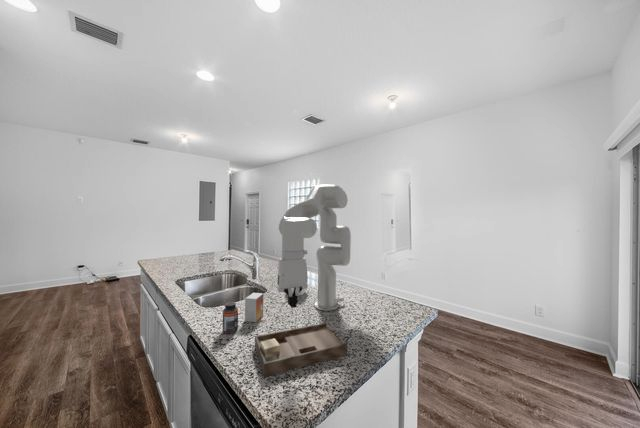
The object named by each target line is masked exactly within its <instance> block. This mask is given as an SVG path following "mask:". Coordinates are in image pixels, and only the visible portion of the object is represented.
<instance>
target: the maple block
mask: <svg viewBox="0 0 640 428" xmlns="http://www.w3.org/2000/svg"><path fill="white" fill-rule="evenodd" d="M261 349H262V351H263V354H264V357H265V358H268V357H272V356H275V355H278V354H280V345H279V343H278V342H277V341H276V339H275V338H274V339H270V340H266V341H262V342H261Z"/></svg>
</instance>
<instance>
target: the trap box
mask: <svg viewBox="0 0 640 428" xmlns="http://www.w3.org/2000/svg"><path fill="white" fill-rule="evenodd" d="M327 325H328V324H327V322H323V323H316V324H311V325H306V326H302V327H297V328H290V329H285V330H282V331H274V332H271V333H264V334H261V335H260V334H259V335H256V336H254V348H255V353H256V355H257V359H258V361H259V364H260V367H261V371H262V374H263V377H264V378H267V377H270V376H273V375H278V374H281V372H282V373H286V372H289V371H292V370H291V369H293V370H296V369H295V368H297V369H300V368H299V367H301V368H305V367H308V366H312V365H315V363H316V364H320V363H323V361H324V362H327V361H331V360H334V359H339V358H343V357H346V356H348V343H347V342H345V343H342V342H341V340H340V339H339V338H338V337H337V336H336V335H335V334H334V333H333V332H332V331H331V330H330V329H329V328H328V327H327ZM274 338H275V339H276V341H277V342H278V343H279V345H280V354H278V355H275V356H272V357H268V358H265V357H264V354H263V351H262V349H261V342H262V341H266V340H270V339H274ZM319 362H320V363H319ZM304 366H305V367H304ZM288 370H289V371H288ZM269 375H270V376H269Z"/></svg>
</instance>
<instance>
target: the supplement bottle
mask: <svg viewBox="0 0 640 428" xmlns="http://www.w3.org/2000/svg"><path fill="white" fill-rule="evenodd" d="M224 304H225V305H224V306H225V307H224V308H223V310H222V332H223V333H224V334H233V333H235V332H237V331H238V330H239V309H238V307H237V305H236V302H235V301H228V302H226V303H224Z"/></svg>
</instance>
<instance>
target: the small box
mask: <svg viewBox="0 0 640 428" xmlns="http://www.w3.org/2000/svg"><path fill="white" fill-rule="evenodd" d="M263 316H264V293H260V292H252V293H251V294H250V295H248V296H246V297H245V298H244V322H249V323H257V322H258V321H259V320H260V319H261V318H262V317H263Z"/></svg>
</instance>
